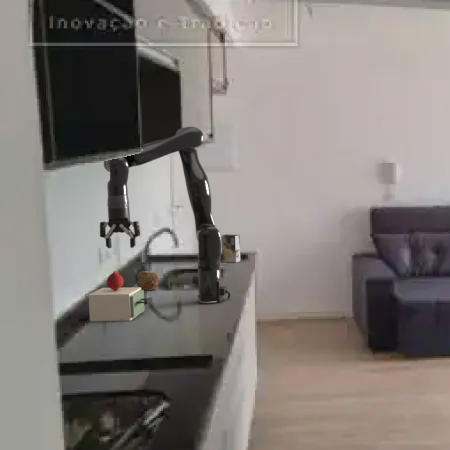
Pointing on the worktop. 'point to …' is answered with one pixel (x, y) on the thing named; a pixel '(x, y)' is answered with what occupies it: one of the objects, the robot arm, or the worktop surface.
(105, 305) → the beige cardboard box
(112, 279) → the onion
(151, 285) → the tin
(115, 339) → the worktop surface
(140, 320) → the worktop surface
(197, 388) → the worktop surface
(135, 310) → the green drawer
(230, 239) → the coffee box
